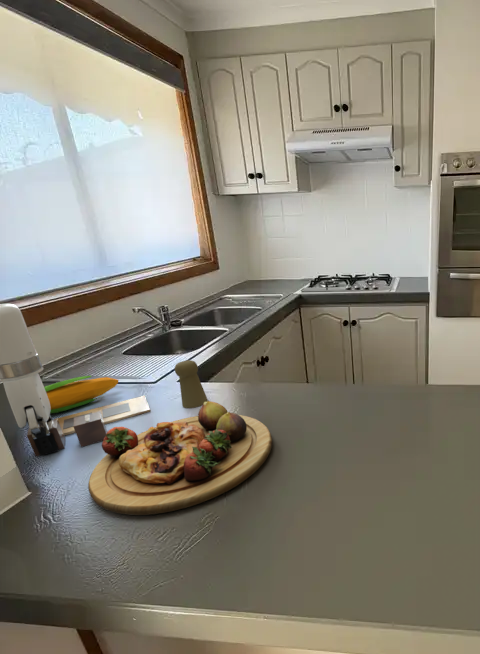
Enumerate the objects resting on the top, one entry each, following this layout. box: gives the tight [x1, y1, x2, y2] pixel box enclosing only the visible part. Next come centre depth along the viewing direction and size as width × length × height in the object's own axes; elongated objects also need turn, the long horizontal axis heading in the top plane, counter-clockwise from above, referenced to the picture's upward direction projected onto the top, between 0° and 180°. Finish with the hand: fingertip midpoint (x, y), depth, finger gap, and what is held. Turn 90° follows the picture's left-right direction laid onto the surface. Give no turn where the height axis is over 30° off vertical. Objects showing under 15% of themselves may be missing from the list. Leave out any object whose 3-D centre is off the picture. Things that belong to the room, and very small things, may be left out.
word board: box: [53, 394, 151, 437], centre depth 103 cm, size 20×11×1 cm, turn 123°
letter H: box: [26, 418, 66, 457], centre depth 89 cm, size 5×5×5 cm
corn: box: [44, 374, 119, 415], centre depth 110 cm, size 7×8×20 cm
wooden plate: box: [87, 400, 273, 516], centre depth 79 cm, size 32×32×8 cm
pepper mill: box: [174, 359, 209, 409], centre depth 104 cm, size 6×6×11 cm
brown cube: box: [73, 411, 108, 448], centre depth 92 cm, size 5×5×5 cm
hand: (50, 445), depth 90 cm, fingers open, 5 cm apart
